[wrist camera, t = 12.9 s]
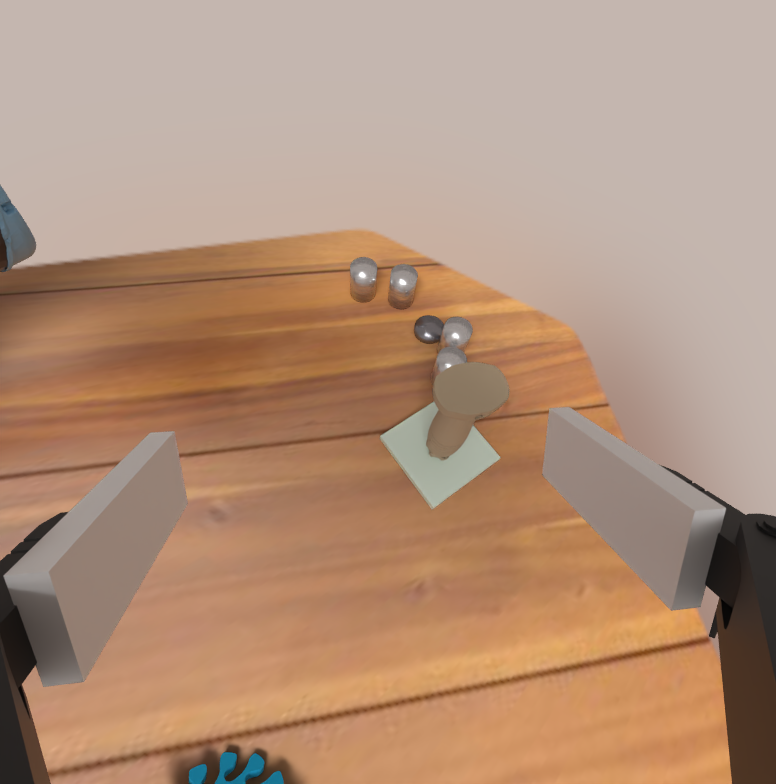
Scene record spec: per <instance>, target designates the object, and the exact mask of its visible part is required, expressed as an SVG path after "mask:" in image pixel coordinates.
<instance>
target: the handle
mask: <svg viewBox="0 0 776 784" xmlns="http://www.w3.org/2000/svg"><path fill="white" fill-rule="evenodd" d="M432 393H433V399H434V402H435V404H436V406H437V408H438V412H437V414H436V415H435V417H434V419H433V420H432V423H431V425H430V428H429V431H428V436H427V441H426V446H427V447H428V449H429V455H430V456H431V457H436V458H439V459H440V460H442V461H443V460H446V459H448V458H449V456H450V455H452V454H454V453H455V452H456V451H457V450H458V449H459V448H460V447H461V446H462V445H463V443H464V442H465V440H466V439H467V437H468V435H469V433H470V431H471V428H472V426H473V424H474V422H475V420H479V419H482V418H484V417H486V416H489V415H490V414H492V413H493V412H495V411H496V410H497V409H498V408H500V407H501V406H502V405H503V404H504V403H505V402H506V401H507V399H508V397H509V385H508V382H507V380H506V378H505V376H504V375H503V373H502V372H501V371H500V370H499V369H498V368H497V367H496V366H494V365H489V364H485V363H480V362H467V363H462V364H457V365H453V366H451V367H449V368H447V369H446V370H444V371H443V372H441V373H440V374H439V375H437V376H436V378H435V381H434V384H433V389H432Z"/></svg>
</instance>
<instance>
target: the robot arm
mask: <svg viewBox="0 0 776 784" xmlns="http://www.w3.org/2000/svg"><path fill="white" fill-rule="evenodd" d="M35 249H36V242H35V239H34V237H33V235H32V233H31V231H30V229H29V228H28V226H27V224H26V223H25V221H24V219H23V218H22V216H21V215H20V213H19V212H18V210H17V209H16V208H15V206H14V205H13V204H11V201H10V199H9V198H8V196H7V194H6V193H5V191H4V190H3V188H2V187H1V186H0V272H5V271H8V270H10V269H11V268H12V266H13V265H15V264H17V263H19V262H21V261H23V260H25V259H27V258H29V257H30V256H32V255H33V253H34V252H35ZM542 475H543V476H544V478H545V479H546V480H547V481H548V482H549V483H550V484H551V485H552V486H553V487H554V488H555V489H556V490H557V491H558V492H559V493H560V494H561V495H562V496H563V497H564V499H565V500H566V501H567V502H568V503H569V504H570V505H571V506H572V507H573V508H574V509H575V510H576V511H577V512H578V513H579V514H580V515H581V516H582V517H583V518H584V520H585V521H586V522H587V523H588V524H589V525H590V526H591V527H592V528H593V529H594V530H595V531H596V532H597V533H598V534H599V535H600V536H601V537H602V538H603V539H604V540H605V542H606V543H607V544H608V545H609V546H610V547H611V548H612V549H613V550H614V551H615V552H616V553H617V554H618V555H619V556H620V557H621V558H622V559H623V560H624V561H625V563H626V564H627V565H628V566H629V567H630V568H631V569H632V570H633V571H634V572H635V573H636V574H637V575H638V576H639V577H640V578H641V579H642V580H643V581H644V582H645V584H646V585H647V586H648V587H649V588H650V589H651V590H652V591H653V592H654V593H655V594H656V595H657V596H658V597H659V598H660V599H661V600H662V601H663V602H664V603H665V605H666V606H667V607H668V608H669V609H670V610H671V611H672V610H680V609H688V608H697V607H701V602H702V599H703V595H704V591H705V588H706V586H707V587H709V588H710V589H711V590H712V591H713V592H714V593H715V594H716V595H718V596H719V597H720V598H719V602H718V605H717V609H716V612H715V616H714V620H713V623H712V627H711V630H710V634H709V636H710V637H712V638H715V636H716V634H717V632H718V639H719V649H720V660H721V670H722V681H723V692H724V702H725V713H726V723H727V734H728V745H729V755H730V766H731V776H732V784H776V517H775V516H771V515H765V514H747V515H745V514H743V513H742V512H740V511H739V510H737V509H735V508H734V507H732V506H731V505H729V504H727V503H726V502H724V501H723V500H721V499H719V498H718V497H716V496H715V495H713V494H712V493H710V492H708V491H705V490H704V489H703V488H702V487H700V486H699V485H697V484H696V483H692V481H691V480H689V479H688V478H686V477H685V476H683V475H681V474H680V473H678V472H676V471H673V470H671V469H669V468H666V467H664V466H661V465H659V464H657V463H655V462H654V461H652V460H651V459H649V458H648V457H646V456H645V455H643V454H641V453H640V452H638V451H636V450H635V449H634V448H632V447H631V446H629V445H627V444H626V443H624V442H623V441H621V440H620V439H618V438H616V437H615V436H613V435H612V434H610V433H609V432H607V431H606V430H604V429H602V428H601V427H599V426H598V425H596V424H595V423H593V422H592V421H590V420H588V419H587V418H585V417H584V416H582V415H581V414H579V413H578V412H576V411H574V410H573V409H571V408H570V407H562V408H549V417H548V426H547V436H546V445H545V454H544V464H543V473H542ZM187 504H188V501H187V496H186V491H185V485H184V480H183V475H182V469H181V464H180V458H179V453H178V448H177V442H176V437H175V432H174V431H171V432H154V433H149V434H148V435H147V436H146V437H145V438H144V439H143V440H142V441H141V442H140V443H139V444H138V445H137V446H136V447H135V448H134V449H133V450H132V451H131V452H130V453H129V454H128V455H127V456H126V457H125V458H124V459H123V460H122V461H121V462H120V463H119V464H118V465H117V466H116V467H114V468H113V469H112V470H111V471H110V472H109V473H108V474H107V475H106V476H105V477H104V478H103V479H102V480H101V481H100V482H99V483H98V484H97V485H96V486H95V487H94V488H93V489H92V490H91V491H90V492H89V493H88V494H87V495H86V496H85V497H84V498H83V499H82V500H81V501H80V502H79V503H78V504H77V505H75V506H74V507H73V508H72V509H71V510H70V511H69V512H65V513H59V514H58V515H56V516H54V517H53V518H51V519H49V520H47V521H46V522H44V523H42V524H41V525H39V526H38V527H37V528H36V529H35V530H34V531H32V532H31V533H30V534H29V535H28V536H27V537H26V538H25V539H24V542H21V543H19V544H18V545H17V546H16V547H15V548H14V549H13V550H12V551H11V554H7V555H6V556H5V557H4V558H3V559H2V560H1V561H0V784H51V783H50V780H49V776H48V772H47V769H46V765H45V762H44V758H43V754H42V751H41V747H40V744H39V740H38V737H37V733H36V729H35V726H34V722H33V719H32V715H31V711H30V708H29V704H28V701H27V697H26V694H25V692H24V689H23V686H22V683H23V682H24V680H25V679H26V677H27V676H28V675H29V673H30V672H31V671H32V669H33V668H34V666H35V665H36V667H37V670H38V673H39V676H40V678H41V681H42V684H43V687H46V686H54V685H63V684H71V683H79V682H84V681H85V679H86V678H87V676H88V674H89V672H90V671H91V669H92V667H93V665H94V664H95V662H96V660H97V659H98V657H99V655H100V653H101V652H102V650H103V648H104V647H105V645H106V643H107V641H108V640H109V638H110V636H111V635H112V633H113V631H114V629H115V628H116V626H117V624H118V623H119V621H120V619H121V617H122V616H123V614H124V612H125V611H126V609H127V607H128V605H129V604H130V602H131V600H132V599H133V597H134V595H135V593H136V592H137V590H138V588H139V587H140V585H141V583H142V581H143V580H144V578H145V576H146V574H147V573H148V571H149V569H150V568H151V566H152V564H153V562H154V561H155V559H156V557H157V556H158V554H159V552H160V550H161V549H162V547H163V545H164V544H165V542H166V540H167V538H168V537H169V535H170V533H171V532H172V530H173V528H174V526H175V525H176V523H177V521H178V520H179V518H180V516H181V514H182V513H183V511H184V509H185V508H186V506H187Z"/></svg>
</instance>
